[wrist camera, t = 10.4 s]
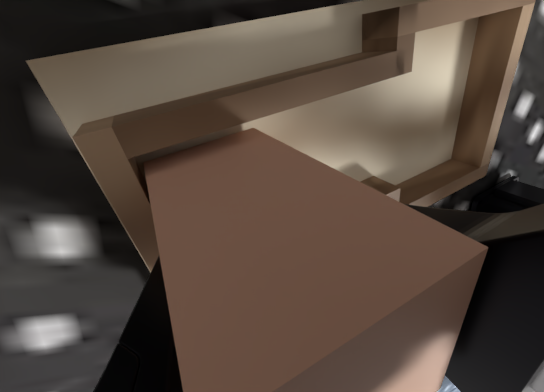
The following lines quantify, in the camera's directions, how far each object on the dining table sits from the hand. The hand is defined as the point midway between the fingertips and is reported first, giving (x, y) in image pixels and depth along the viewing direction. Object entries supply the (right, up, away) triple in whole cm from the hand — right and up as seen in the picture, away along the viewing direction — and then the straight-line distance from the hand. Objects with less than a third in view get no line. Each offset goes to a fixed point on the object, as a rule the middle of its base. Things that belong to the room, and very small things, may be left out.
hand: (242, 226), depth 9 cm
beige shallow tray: (+4, +4, +5) cm, 8 cm away
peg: (-1, +1, +2) cm, 3 cm away
